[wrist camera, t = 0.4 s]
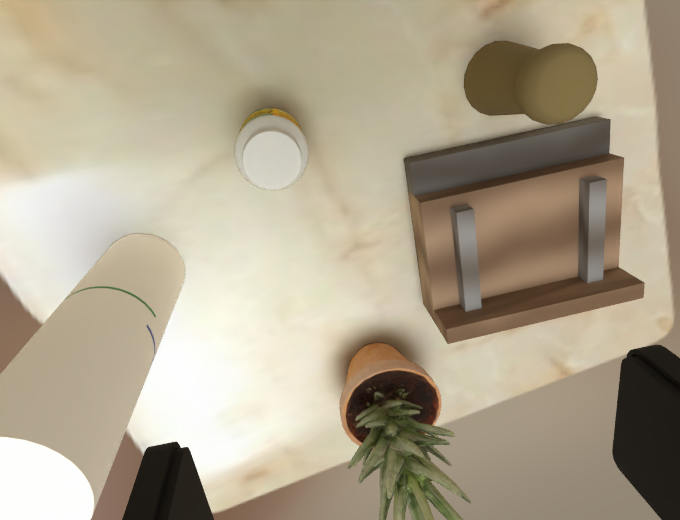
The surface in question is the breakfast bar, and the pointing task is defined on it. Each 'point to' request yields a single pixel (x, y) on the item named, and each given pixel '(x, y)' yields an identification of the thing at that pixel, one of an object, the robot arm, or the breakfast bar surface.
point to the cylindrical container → (83, 381)
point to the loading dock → (519, 229)
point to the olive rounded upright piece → (531, 81)
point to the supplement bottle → (271, 149)
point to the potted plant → (397, 431)
